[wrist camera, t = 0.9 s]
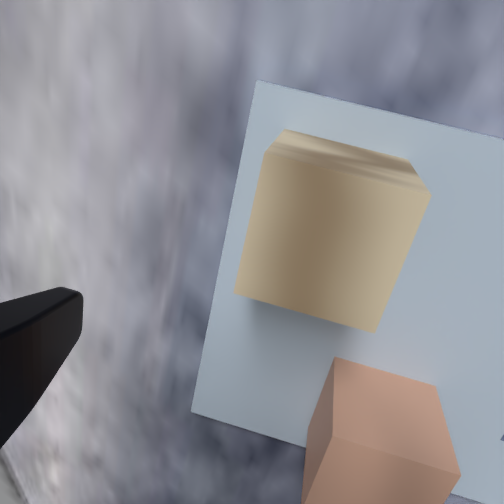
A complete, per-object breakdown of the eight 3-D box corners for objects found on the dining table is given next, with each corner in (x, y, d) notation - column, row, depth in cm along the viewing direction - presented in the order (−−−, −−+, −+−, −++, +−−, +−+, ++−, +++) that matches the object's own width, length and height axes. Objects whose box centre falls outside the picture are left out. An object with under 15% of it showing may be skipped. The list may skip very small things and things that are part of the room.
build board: (909, 236, 15) (931, 243, 15) (618, 536, 23) (625, 548, 22) (259, 80, 17) (256, 80, 17) (193, 404, 25) (190, 412, 25)
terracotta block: (435, 386, 21) (461, 475, 16) (399, 455, 23) (412, 551, 18) (334, 356, 21) (332, 436, 17) (308, 427, 23) (299, 514, 19)
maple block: (407, 159, 17) (431, 195, 12) (366, 269, 19) (374, 333, 15) (284, 128, 17) (264, 152, 13) (258, 239, 19) (233, 293, 15)
